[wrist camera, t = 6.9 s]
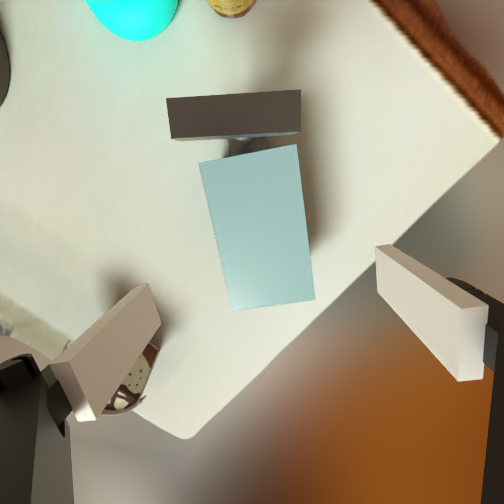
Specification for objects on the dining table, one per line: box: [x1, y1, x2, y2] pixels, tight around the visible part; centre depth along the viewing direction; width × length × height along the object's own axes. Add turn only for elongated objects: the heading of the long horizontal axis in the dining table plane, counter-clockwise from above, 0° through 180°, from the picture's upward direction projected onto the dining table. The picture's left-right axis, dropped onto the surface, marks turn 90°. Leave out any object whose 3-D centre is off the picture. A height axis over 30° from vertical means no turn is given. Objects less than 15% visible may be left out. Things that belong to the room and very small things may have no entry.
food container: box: [59, 340, 160, 416], centre depth 38 cm, size 12×6×10 cm, turn 46°
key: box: [166, 90, 301, 145], centre depth 24 cm, size 9×2×13 cm, turn 93°
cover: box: [198, 144, 315, 311], centre depth 29 cm, size 17×10×3 cm, turn 10°
